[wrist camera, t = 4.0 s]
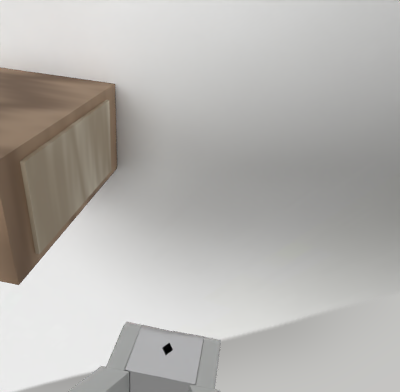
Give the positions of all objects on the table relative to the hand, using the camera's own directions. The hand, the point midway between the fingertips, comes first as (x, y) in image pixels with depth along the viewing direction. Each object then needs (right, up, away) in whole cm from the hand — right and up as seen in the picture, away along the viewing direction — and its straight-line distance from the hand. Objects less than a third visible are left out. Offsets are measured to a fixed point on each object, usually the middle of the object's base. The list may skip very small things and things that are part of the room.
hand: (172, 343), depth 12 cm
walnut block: (-9, +10, +14) cm, 19 cm away
